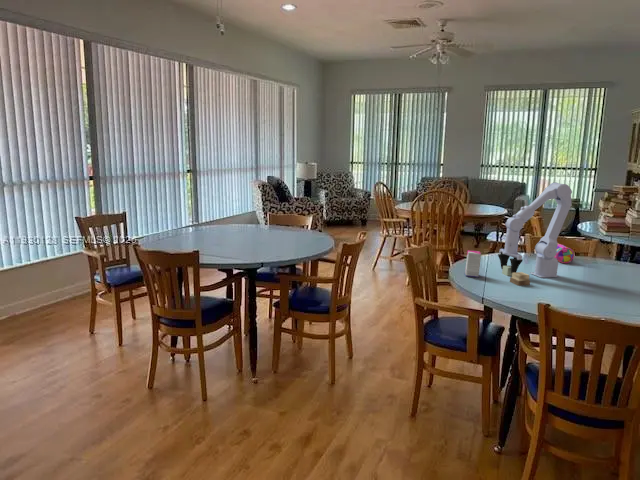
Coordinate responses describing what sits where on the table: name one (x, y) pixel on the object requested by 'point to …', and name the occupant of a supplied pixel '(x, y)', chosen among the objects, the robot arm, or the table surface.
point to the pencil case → (564, 254)
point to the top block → (507, 270)
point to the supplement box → (472, 264)
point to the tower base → (519, 282)
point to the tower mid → (520, 276)
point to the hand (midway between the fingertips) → (508, 271)
